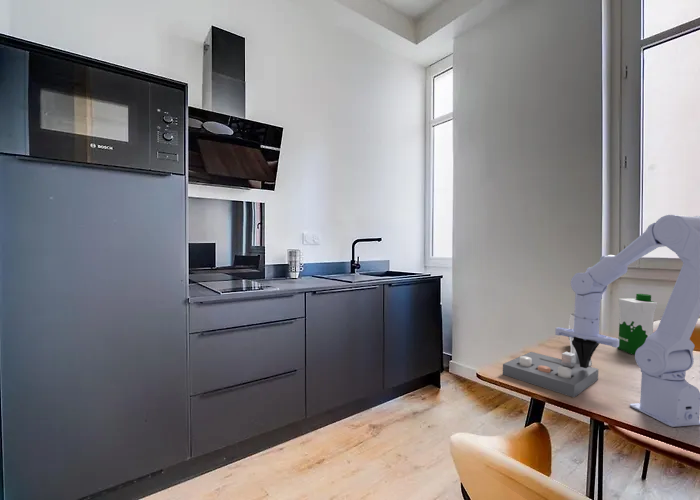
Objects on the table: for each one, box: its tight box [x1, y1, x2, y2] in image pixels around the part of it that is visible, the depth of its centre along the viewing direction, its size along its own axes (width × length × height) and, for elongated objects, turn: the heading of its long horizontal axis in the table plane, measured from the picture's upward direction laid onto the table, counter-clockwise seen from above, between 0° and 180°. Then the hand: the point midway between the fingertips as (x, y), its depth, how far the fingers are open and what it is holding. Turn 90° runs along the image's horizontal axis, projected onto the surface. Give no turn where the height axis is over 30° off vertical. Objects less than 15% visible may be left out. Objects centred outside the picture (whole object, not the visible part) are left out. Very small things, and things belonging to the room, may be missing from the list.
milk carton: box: [617, 293, 658, 355], centre depth 124 cm, size 9×9×20 cm
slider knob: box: [561, 351, 575, 367], centre depth 100 cm, size 2×3×3 cm
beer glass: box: [568, 312, 593, 367], centre depth 111 cm, size 7×7×15 cm
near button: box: [558, 366, 571, 379], centre depth 93 cm, size 3×3×3 cm
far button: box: [519, 355, 532, 367], centre depth 101 cm, size 3×3×3 cm
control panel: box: [502, 351, 599, 398], centre depth 100 cm, size 18×18×3 cm
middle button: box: [538, 365, 551, 373], centre depth 97 cm, size 3×3×3 cm
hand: (584, 366), depth 97 cm, fingers closed
